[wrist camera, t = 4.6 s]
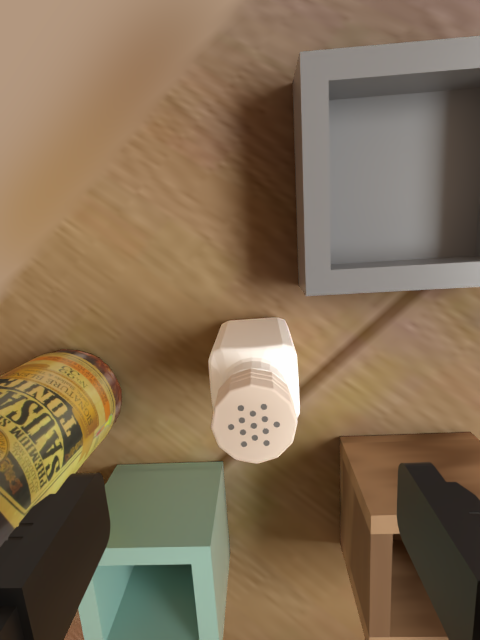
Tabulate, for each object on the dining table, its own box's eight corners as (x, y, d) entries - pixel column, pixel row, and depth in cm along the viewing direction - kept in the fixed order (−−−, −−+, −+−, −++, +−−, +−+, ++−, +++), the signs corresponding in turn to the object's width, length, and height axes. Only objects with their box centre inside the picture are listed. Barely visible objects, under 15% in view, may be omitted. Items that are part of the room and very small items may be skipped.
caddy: (504, 64, 20) (558, 29, 16) (488, 275, 22) (531, 283, 19) (292, 82, 20) (300, 51, 17) (298, 285, 23) (306, 296, 19)
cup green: (222, 461, 25) (210, 546, 19) (230, 552, 27) (220, 661, 20) (117, 464, 26) (66, 548, 19) (130, 553, 27) (88, 661, 21)
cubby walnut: (470, 432, 24) (553, 511, 17) (462, 541, 26) (534, 652, 19) (339, 436, 25) (371, 515, 18) (340, 544, 26) (369, 653, 20)
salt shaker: (225, 382, 24) (205, 476, 15) (219, 319, 23) (194, 377, 14) (290, 378, 24) (310, 471, 15) (286, 314, 23) (306, 371, 14)
